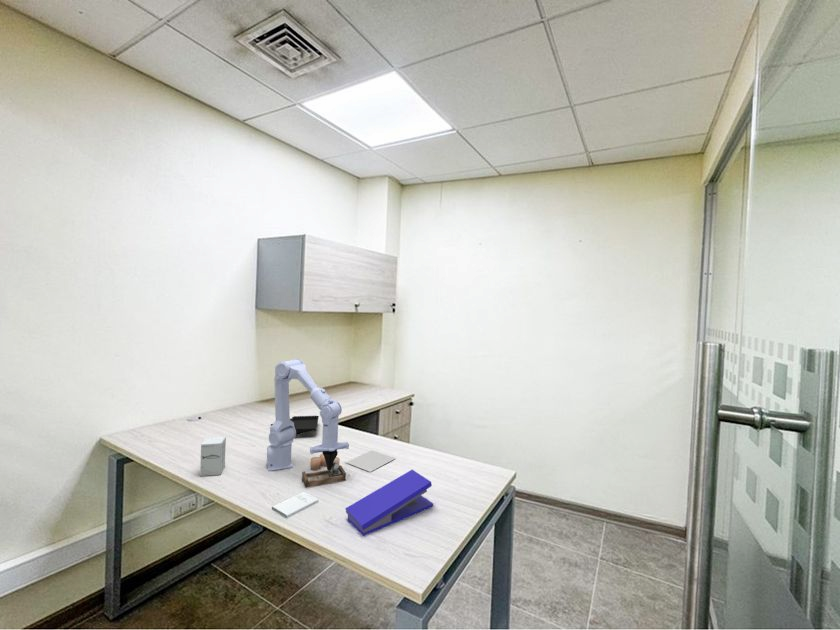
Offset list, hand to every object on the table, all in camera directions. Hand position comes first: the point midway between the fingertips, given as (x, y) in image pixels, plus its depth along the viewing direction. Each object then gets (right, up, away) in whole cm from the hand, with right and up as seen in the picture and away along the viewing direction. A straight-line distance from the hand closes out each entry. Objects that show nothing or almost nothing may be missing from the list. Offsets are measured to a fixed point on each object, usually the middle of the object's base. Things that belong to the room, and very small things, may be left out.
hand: (329, 469), depth 143 cm
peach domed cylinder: (0, -4, +9) cm, 10 cm away
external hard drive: (-7, -5, -19) cm, 21 cm away
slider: (+2, -3, +1) cm, 3 cm away
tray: (-28, -1, +51) cm, 59 cm away
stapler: (+25, -6, -21) cm, 34 cm away
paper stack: (+15, -5, +12) cm, 20 cm away
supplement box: (-46, -2, +3) cm, 46 cm away
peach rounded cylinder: (-5, -3, +12) cm, 14 cm away
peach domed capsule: (-8, -3, +9) cm, 12 cm away
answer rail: (-2, -4, -1) cm, 4 cm away
